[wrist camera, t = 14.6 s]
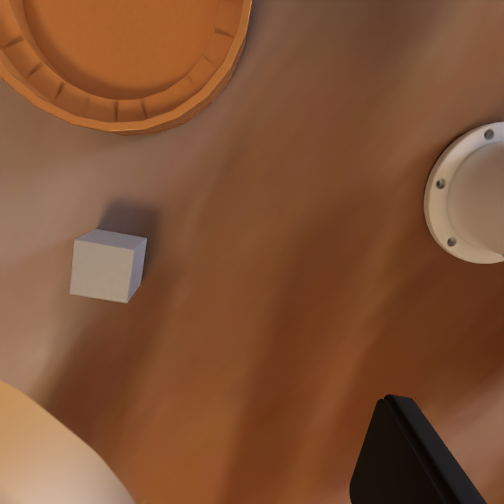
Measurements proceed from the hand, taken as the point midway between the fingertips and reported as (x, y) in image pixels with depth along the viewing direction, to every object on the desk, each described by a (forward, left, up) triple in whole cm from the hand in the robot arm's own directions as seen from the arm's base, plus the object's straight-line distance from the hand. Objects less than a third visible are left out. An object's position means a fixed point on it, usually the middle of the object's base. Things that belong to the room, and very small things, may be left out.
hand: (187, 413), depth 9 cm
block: (+8, +4, -24) cm, 26 cm away
